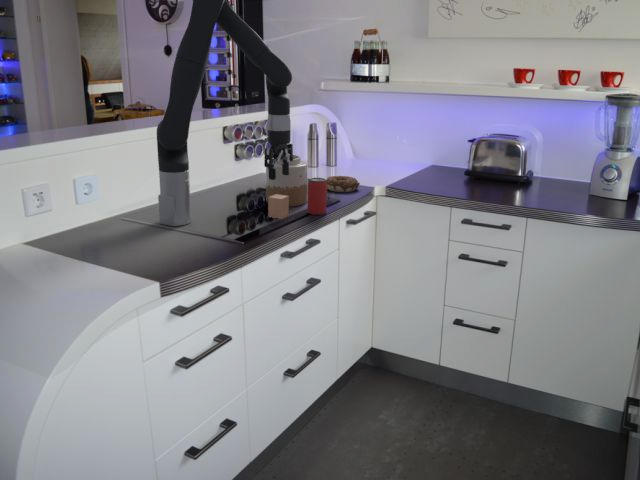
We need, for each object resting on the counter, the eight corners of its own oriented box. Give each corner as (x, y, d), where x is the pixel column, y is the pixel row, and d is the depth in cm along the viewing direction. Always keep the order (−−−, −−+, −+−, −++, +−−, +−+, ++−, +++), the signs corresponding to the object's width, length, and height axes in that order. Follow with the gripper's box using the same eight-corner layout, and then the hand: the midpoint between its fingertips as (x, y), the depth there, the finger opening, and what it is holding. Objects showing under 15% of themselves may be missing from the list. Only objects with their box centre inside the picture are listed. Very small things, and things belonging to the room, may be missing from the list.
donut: (321, 192, 241) (321, 179, 239) (328, 184, 253) (329, 173, 252) (356, 195, 238) (356, 182, 236) (362, 187, 250) (362, 175, 249)
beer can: (324, 216, 207) (325, 182, 203) (305, 214, 208) (306, 180, 204) (327, 211, 213) (329, 178, 209) (309, 209, 214) (310, 176, 210)
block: (280, 219, 202) (281, 199, 200) (268, 217, 204) (268, 197, 202) (288, 215, 206) (288, 196, 204) (276, 213, 208) (276, 194, 206)
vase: (311, 198, 230) (313, 154, 224) (299, 208, 216) (300, 162, 210) (274, 194, 234) (274, 151, 228) (259, 204, 220) (259, 158, 214)
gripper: (277, 131, 188) (277, 182, 193) (299, 126, 200) (299, 174, 205) (257, 129, 191) (257, 179, 196) (280, 124, 203) (280, 172, 208)
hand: (279, 177), depth 201 cm, fingers open, 8 cm apart
